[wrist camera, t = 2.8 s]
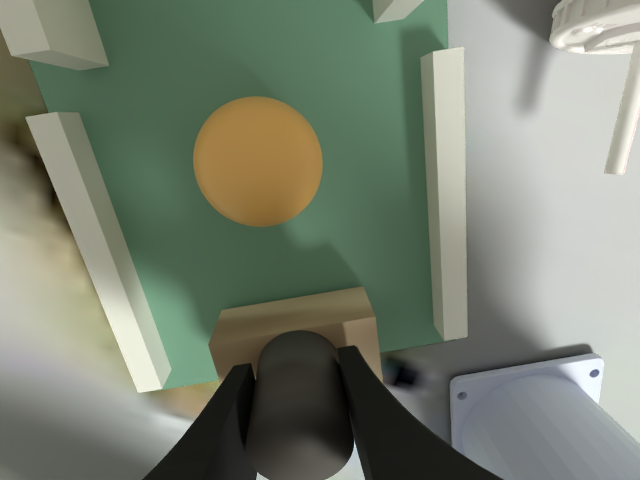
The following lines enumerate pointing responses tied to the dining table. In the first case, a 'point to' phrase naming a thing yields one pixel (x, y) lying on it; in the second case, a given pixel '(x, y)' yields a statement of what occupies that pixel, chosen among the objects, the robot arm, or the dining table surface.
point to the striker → (298, 377)
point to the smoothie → (606, 38)
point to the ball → (257, 161)
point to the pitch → (184, 192)
